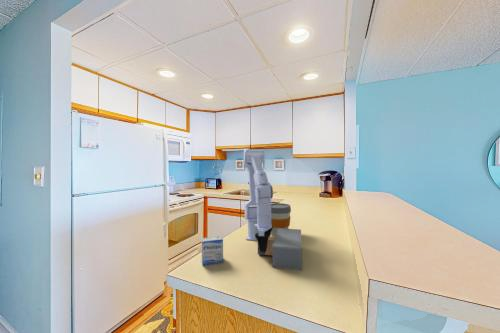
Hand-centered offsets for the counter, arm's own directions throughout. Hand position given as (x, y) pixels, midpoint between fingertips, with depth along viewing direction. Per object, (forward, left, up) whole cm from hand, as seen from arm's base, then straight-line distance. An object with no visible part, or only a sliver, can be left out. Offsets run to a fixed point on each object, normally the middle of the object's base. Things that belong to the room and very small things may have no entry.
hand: (264, 247), depth 82 cm
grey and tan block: (0, +4, -3) cm, 5 cm away
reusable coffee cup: (-24, +3, -3) cm, 25 cm away
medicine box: (+10, -19, -3) cm, 21 cm away
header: (0, +9, -3) cm, 10 cm away
